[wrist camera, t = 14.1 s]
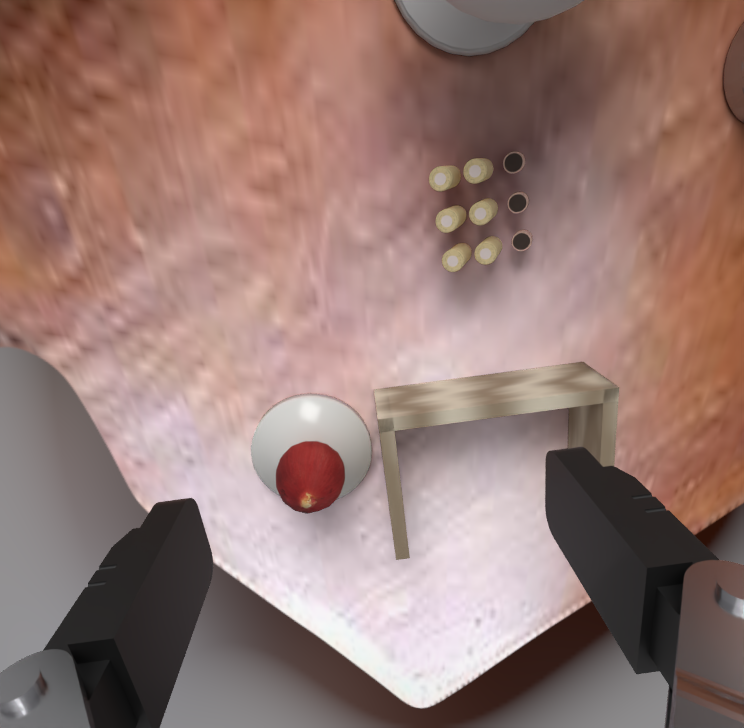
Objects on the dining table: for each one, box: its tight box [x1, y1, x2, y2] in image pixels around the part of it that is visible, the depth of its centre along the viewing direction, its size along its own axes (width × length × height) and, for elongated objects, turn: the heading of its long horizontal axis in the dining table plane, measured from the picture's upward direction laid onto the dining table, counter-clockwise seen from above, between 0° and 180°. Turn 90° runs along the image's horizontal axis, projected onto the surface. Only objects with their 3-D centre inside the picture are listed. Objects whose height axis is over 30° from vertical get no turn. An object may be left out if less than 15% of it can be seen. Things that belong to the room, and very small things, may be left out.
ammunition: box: [429, 152, 533, 272], centre depth 35 cm, size 5×7×8 cm
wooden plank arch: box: [374, 362, 619, 560], centre depth 42 cm, size 19×14×6 cm
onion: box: [276, 441, 345, 513], centre depth 39 cm, size 6×6×8 cm
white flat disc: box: [251, 393, 372, 499], centre depth 43 cm, size 11×11×1 cm
